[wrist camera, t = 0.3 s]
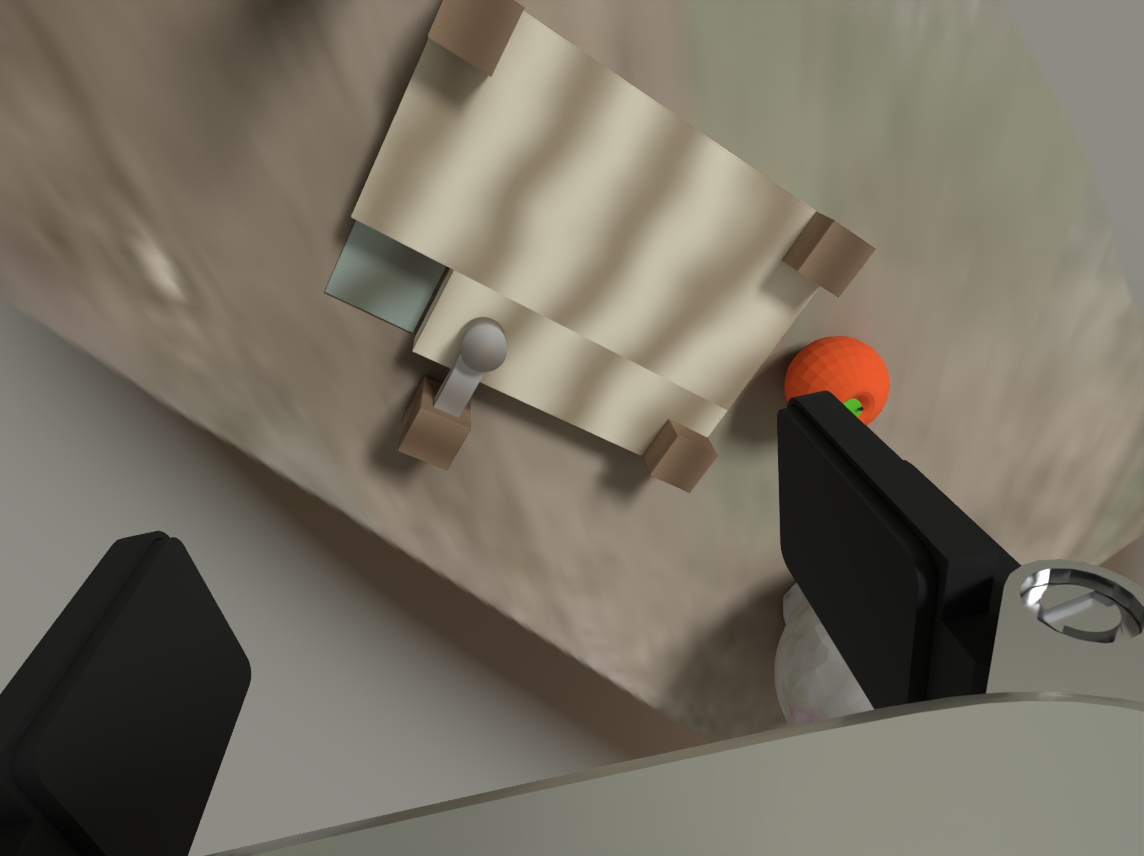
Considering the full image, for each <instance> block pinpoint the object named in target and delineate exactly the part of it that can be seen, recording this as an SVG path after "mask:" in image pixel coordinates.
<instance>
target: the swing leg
mask: <svg viewBox="0 0 1144 856" xmlns="http://www.w3.org/2000/svg"><path fill="white" fill-rule="evenodd" d="M506 355H507V347H506V339H505V333H504V330H503V328H502V326H501V325H500V324H499V323H498V322H497V321H495V320H493V319H491V318H488V317H478V318H475V319H472V320H471V321H469V322H468V323H467V324H466V325H465V326H464V328H463V330H462V333H461V351H460V352H459V354H458V356H457V358H456V360H455V362H454V363H453V365H452V367H451V369H450V371H449V373H448V374H447V376H446V378H445V380H444V382H443V384H442V383H440V382H438V381H435V380H433V379H431V378H429V377H426V376H424V378H423V380H422V382H421V383H420V385H419V387H418V389H417V391H416V393H415V395H414V397H413V399H412V400H411V402H410V404H409V406H408V408H407V410H406V412H405V414H404V416H403V421H402V427H401V433H400V439H399V446H398V451H399V452H402V453H404V454H407V455H409V456H412V457H414V458H417V459H419V460H422V461H424V462H427V463H429V464H432V465H434V466H437V467H439V468H442V469H444V470H448V468H449V466H450V465H451V463H452V461H453V460H454V458H455V456H456V454H457V453H458V451H459V449H460V448H461V446H462V444H463V442H464V441H465V439H466V437H467V435H468V434H469V432H470V430H471V396H472V394H473V392H474V391H475V389H476V387H477V385H478V384H479V382H480V380H481V378H482V377H483V375H484V373H485V372H490V371H493V370H495V369H497V368H499V367H500V366H501V365H502V364H503V362H504V361H505V359H506Z"/></svg>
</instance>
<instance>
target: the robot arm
mask: <svg viewBox="0 0 1144 856" xmlns="http://www.w3.org/2000/svg"><path fill="white" fill-rule="evenodd" d="M777 434H778V471H779V507H780V543H781V550H782V555H783V558H784V561H785V564H786V566H787V568H788V569H789V571H790V573H791V574H792V576H793V577H794V579H795V581H796V582H797V584H798V586H799V587H800V589H801V591H802V592H803V594H804V595H805V597H806V599H807V600H808V602H809V604H810V605H811V607H812V609H813V610H814V612H815V613H816V615H817V617H818V618H819V620H820V622H821V623H822V625H823V627H824V628H825V630H826V631H827V633H828V635H829V636H830V638H831V640H832V641H833V643H834V645H835V646H836V648H837V649H838V651H839V653H840V654H841V656H842V658H843V659H844V661H845V662H846V664H847V666H848V667H849V669H850V671H851V672H852V674H853V676H854V677H855V679H856V680H857V682H858V684H859V685H860V687H861V689H862V690H863V692H864V694H865V695H866V697H867V698H868V700H869V702H870V703H871V705H872V707H873V708H874V710H870V711H865V712H860V713H855V714H850V715H845V716H840V717H835V718H830V719H825V720H820V721H815V722H810V723H805V724H799V725H794V726H789V727H784V728H779V729H774V730H769V731H764V732H760V733H755V734H750V735H746V736H741V737H737V738H732V739H727V740H723V741H718V742H714V743H709V744H704V745H700V746H695V747H691V748H686V749H681V750H677V751H672V752H668V753H663V754H658V755H654V756H649V757H645V758H640V759H635V760H631V761H626V762H622V763H617V764H613V765H608V766H603V767H598V768H595V769H589V770H585V771H580V772H575V773H571V774H566V775H562V776H557V777H553V778H549V779H544V780H540V781H536V782H531V783H526V784H521V785H517V786H512V787H508V788H503V789H499V790H494V791H490V792H485V793H481V794H476V795H472V796H468V797H463V798H458V799H454V800H449V801H445V802H440V803H437V804H432V805H427V806H422V807H418V808H414V809H409V810H405V811H400V812H396V813H392V814H387V815H382V816H378V817H374V818H369V819H364V820H360V821H355V822H351V823H346V824H342V825H338V826H333V827H329V828H324V829H320V830H316V831H311V832H307V833H303V834H298V835H294V836H289V837H285V838H281V839H276V840H272V841H267V842H263V843H259V844H254V845H250V846H246V847H241V848H237V849H232V850H228V851H224V852H220V853H215V854H211V855H206V856H1144V590H1143V589H1142V588H1141V587H1139V586H1138V585H1136V584H1135V583H1134V582H1132V581H1131V580H1129V579H1127V578H1125V577H1123V576H1121V575H1118V574H1116V573H1114V572H1112V571H1110V570H1108V569H1105V568H1101V567H1098V566H1094V565H1091V564H1087V563H1084V562H1077V561H1069V560H1061V559H1057V560H1039V561H1035V562H1032V563H1029V564H1025V565H1022V566H1021V565H1020V564H1019V563H1018V562H1017V561H1016V560H1015V559H1014V558H1012V557H1011V556H1010V555H1009V554H1008V553H1007V552H1006V551H1005V550H1004V549H1003V548H1002V547H1001V546H1000V545H998V544H997V543H996V542H995V541H994V540H993V539H992V538H991V537H990V536H989V535H988V534H987V533H986V532H985V531H983V530H982V529H981V528H980V527H979V526H978V525H977V524H976V523H975V522H974V521H973V520H972V519H971V518H969V517H968V516H967V515H966V514H965V513H964V512H963V511H962V510H961V509H960V508H959V507H958V506H957V505H955V504H954V503H953V502H952V501H951V500H950V499H949V498H948V497H947V496H946V495H945V494H944V493H943V492H941V491H940V490H939V489H938V488H937V487H936V486H935V485H934V484H933V483H932V482H931V481H930V480H929V479H928V478H926V477H925V476H924V475H923V474H922V473H921V472H920V471H919V470H918V469H917V468H916V467H915V466H913V465H912V464H911V463H909V462H908V461H906V460H902V459H901V458H900V457H899V456H898V455H897V454H896V453H895V452H894V451H893V450H892V449H891V448H889V447H888V446H887V445H886V444H885V443H884V442H883V441H882V440H881V439H880V438H879V437H878V436H877V435H876V434H875V433H874V432H872V431H871V430H870V429H869V428H868V427H867V426H866V425H865V424H864V423H863V422H862V421H861V420H860V419H859V418H858V417H857V416H855V415H854V414H853V413H852V412H851V411H850V410H849V409H848V408H847V407H846V406H845V405H844V404H843V403H842V402H841V401H840V400H838V399H837V398H836V397H835V396H834V395H833V394H832V393H831V392H829V391H828V390H827V391H820V392H815V393H811V394H806V395H801V396H796V397H792V398H790V399H789V401H788V404H787V408H784V409H780V410H779V411H778V414H777ZM250 681H251V667H250V663H249V660H248V658H247V656H246V655H245V653H244V651H243V649H242V647H241V646H240V644H239V642H238V640H237V639H236V637H235V635H234V633H233V631H232V630H231V628H230V626H229V624H228V623H227V621H226V619H225V617H224V615H223V614H222V612H221V610H220V608H219V607H218V605H217V603H216V602H215V600H214V598H213V596H212V594H211V592H210V591H209V589H208V587H207V585H206V584H205V582H204V580H203V578H202V577H201V575H200V573H199V571H198V569H197V568H196V566H195V564H194V562H193V561H192V559H191V557H190V555H189V554H188V552H187V550H186V548H185V546H184V545H183V543H182V542H181V541H180V540H179V539H177V538H174V537H172V538H170V537H169V536H168V535H167V534H165V533H164V532H161V531H155V532H151V533H145V534H140V535H136V536H131V537H126V538H122V539H119V540H117V541H116V542H115V543H114V544H113V545H112V546H111V547H110V549H109V550H108V551H107V553H106V554H105V555H104V557H103V558H102V559H101V561H100V562H99V563H98V565H97V566H96V567H95V569H94V570H93V571H92V573H91V574H90V575H89V577H88V578H87V579H86V581H85V582H84V583H83V585H82V586H81V587H80V589H79V590H78V592H77V593H76V594H75V595H74V597H73V598H72V599H71V601H70V602H69V603H68V605H67V606H66V607H65V609H64V610H63V611H62V613H61V614H60V615H59V617H58V618H57V619H56V621H55V622H54V623H53V625H52V626H51V628H50V629H49V630H48V631H47V633H46V634H45V635H44V637H43V638H42V639H41V641H40V642H39V644H38V645H37V646H36V647H35V649H34V650H33V651H32V653H31V654H30V655H29V657H28V658H27V659H26V661H25V662H24V663H23V665H22V666H21V667H20V669H19V670H18V671H17V673H16V674H15V675H14V677H13V678H12V679H11V681H10V682H9V683H8V685H7V686H6V688H5V689H4V690H3V691H2V693H1V694H0V856H188V854H189V851H190V848H191V845H192V843H193V840H194V837H195V834H196V832H197V829H198V826H199V823H200V820H201V818H202V815H203V812H204V809H205V807H206V804H207V801H208V798H209V796H210V793H211V790H212V787H213V785H214V782H215V779H216V776H217V774H218V771H219V768H220V765H221V763H222V760H223V757H224V754H225V751H226V749H227V746H228V743H229V740H230V737H231V735H232V732H233V729H234V726H235V724H236V721H237V718H238V716H239V713H240V710H241V707H242V704H243V702H244V699H245V696H246V693H247V691H248V688H249V685H250Z"/></svg>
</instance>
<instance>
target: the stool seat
mask: <svg viewBox="0 0 1144 856" xmlns="http://www.w3.org/2000/svg"><path fill="white" fill-rule="evenodd" d="M523 10H524V7H523V6H522V5H520V4H519V3H517V2H516V1H514V0H443V1H442V4H441V6H440V8H439V10H438V13H437V15H436V17H435V20H434V22H433V24H432V27H431V29H430V31H429V34H428V36H427V37H429V39H428V41H427V43H426V46H425V48H424V50H423V53H422V55H421V57H420V60H419V62H418V64H417V66H416V69H415V71H414V73H413V76H412V78H411V80H410V82H409V85H408V87H407V89H406V92H405V94H404V96H403V99H402V101H401V103H400V105H399V108H398V110H397V112H396V115H395V117H394V119H393V121H392V124H391V126H390V128H389V131H388V133H387V135H386V138H385V140H384V142H383V144H382V147H381V149H380V151H379V154H378V156H377V158H376V161H375V163H374V165H373V167H372V170H371V172H370V174H369V177H368V179H367V181H366V183H365V186H364V188H363V190H362V193H361V195H360V197H359V200H358V202H357V204H356V206H355V209H354V211H353V213H352V216H351V217H352V218H354V219H355V220H356V222H355V224H354V226H353V228H352V231H351V233H350V235H349V238H348V240H347V242H346V244H345V247H344V249H343V251H342V253H341V256H340V258H339V260H338V263H337V265H336V267H335V269H334V272H333V274H332V276H331V279H330V281H329V283H328V285H327V288H326V290H325V292H326V293H328V294H330V295H333V296H335V297H337V298H339V299H341V300H343V301H345V302H347V303H350V304H352V305H354V306H356V307H358V308H360V309H362V310H365V311H367V312H369V313H371V314H373V315H375V316H377V317H380V318H382V319H384V320H386V321H388V322H390V323H392V324H395V325H397V326H399V327H401V328H403V329H405V330H407V331H410V332H412V333H413V331H414V329H415V327H416V325H417V323H418V321H419V319H420V317H421V315H422V313H423V311H424V310H425V308H426V306H427V304H428V302H429V300H430V298H431V296H432V294H433V292H434V290H435V288H436V286H437V284H438V282H439V280H440V278H441V276H442V274H443V272H444V270H445V268H446V266H447V267H449V268H450V269H449V271H448V273H447V275H446V277H445V279H444V280H443V282H442V284H441V286H440V288H439V290H438V292H437V294H436V296H435V298H434V300H433V302H432V304H431V306H430V308H429V310H428V312H427V314H426V316H425V318H424V320H423V322H422V324H421V326H420V328H419V330H418V331H417V333H416V335H415V339H414V345H413V352H415V353H417V354H420V355H422V356H424V357H426V358H428V359H431V360H433V361H435V362H437V363H439V364H442V365H444V366H446V367H448V368H450V369H451V367H452V365H453V363H454V362H455V360H456V358H457V356H458V354H459V352H460V351H461V333H462V330H463V328H464V326H465V325H466V324H467V323H468V322H469V321H471V320H472V319H475V318H478V317H488V318H491V319H493V320H495V321H497V322H498V323H499V324H500V325H501V326H502V328H503V330H504V333H505V339H506V347H507V355H506V359H505V361H504V362H503V364H502V365H501V366H500V367H499V368H497V369H495V370H493V371H490V372H485V373H484V375H483V377H482V378H481V380H480V382H481V383H483V384H485V385H487V386H490V387H492V388H494V389H496V390H498V391H501V392H503V393H505V394H507V395H509V396H511V397H514V398H516V399H518V400H520V401H522V402H525V403H527V404H529V405H531V406H533V407H536V408H538V409H540V410H542V411H544V412H546V413H549V414H551V415H553V416H555V417H557V418H560V419H562V420H564V421H566V422H568V423H570V424H573V425H575V426H577V427H579V428H581V429H584V430H586V431H588V432H590V433H592V434H595V435H597V436H599V437H601V438H603V439H605V440H608V441H610V442H612V443H614V444H616V445H619V446H621V447H623V448H625V449H627V450H630V451H632V452H634V453H636V454H638V455H640V456H642V457H643V459H644V462H645V464H646V467H647V469H648V471H649V474H650V475H651V476H653V477H655V478H658V479H660V480H662V481H664V482H667V483H669V484H671V485H673V486H676V487H678V488H680V489H682V490H684V491H687V492H689V493H690V492H691V490H692V489H693V488H694V486H695V485H696V484H697V483H698V481H699V480H700V479H701V477H702V476H703V475H704V473H705V472H706V471H707V469H708V468H709V467H710V465H711V464H712V463H713V462H714V460H715V459H716V458H717V456H718V454H717V453H716V451H715V449H714V448H713V446H712V444H711V443H710V441H709V439H708V438H707V437H708V436H709V435H710V433H711V432H712V431H713V429H714V428H715V427H716V425H717V424H718V423H719V421H720V420H721V419H722V417H723V416H724V415H725V413H726V412H727V411H728V409H729V408H730V407H731V405H732V404H733V403H734V401H735V400H736V398H737V397H738V396H739V394H740V393H741V392H742V390H743V389H744V388H745V386H746V385H747V384H748V382H749V381H750V380H751V378H752V377H753V376H754V374H755V373H756V372H757V370H758V369H759V368H760V366H761V365H762V364H763V362H764V361H765V360H766V358H767V357H768V356H769V354H770V353H771V352H772V350H773V349H774V348H775V346H776V345H777V344H778V342H779V341H780V340H781V338H782V337H783V335H784V334H785V333H786V331H787V330H788V329H789V327H790V326H791V325H792V323H793V322H794V321H795V319H796V318H797V317H798V315H799V314H800V313H801V311H802V310H803V309H804V307H805V306H806V305H807V303H808V302H809V301H810V299H811V298H812V297H813V295H814V294H815V293H816V291H817V290H818V289H819V287H820V286H821V287H823V288H824V289H826V290H828V291H829V292H831V293H832V294H834V295H836V296H837V297H839V296H840V295H841V294H842V292H843V291H844V290H845V289H846V287H847V286H848V285H849V283H850V282H851V281H852V279H853V278H854V277H855V275H856V274H857V273H858V271H859V270H860V269H861V268H862V266H863V265H864V264H865V262H866V261H867V260H868V258H869V257H870V256H871V254H872V253H873V252H874V251H875V248H874V247H872V246H871V245H869V244H868V243H867V242H865V241H864V240H862V239H861V238H859V237H858V236H856V235H855V234H853V233H852V232H850V231H849V230H848V229H846V228H845V227H843V226H842V225H840V224H839V223H837V222H836V221H834V220H832V219H830V218H828V217H826V216H824V215H823V214H821V213H819V212H817V211H815V210H814V209H812V208H811V207H809V206H808V205H806V204H805V203H803V202H802V201H800V200H799V199H797V198H796V197H795V196H793V195H792V194H790V193H789V192H787V191H786V190H784V189H783V188H781V187H780V186H778V185H777V184H776V183H774V182H773V181H771V180H770V179H768V178H767V177H765V176H764V175H762V174H761V173H760V172H758V171H757V170H755V169H754V168H752V167H751V166H749V165H748V164H746V163H745V162H743V161H742V160H741V159H739V158H738V157H736V156H735V155H733V154H732V153H730V152H729V151H727V150H726V149H724V148H723V147H722V146H720V145H719V144H717V143H716V142H714V141H713V140H711V139H710V138H708V137H707V136H705V135H704V134H703V133H701V132H700V131H698V130H697V129H695V128H694V127H692V126H691V125H689V124H688V123H686V122H685V121H684V120H682V119H681V118H679V117H678V116H676V115H675V114H673V113H672V112H670V111H669V110H667V109H666V108H665V107H663V106H662V105H660V104H659V103H657V102H656V101H654V100H653V99H651V98H650V97H648V96H647V95H646V94H644V93H643V92H641V91H640V90H638V89H637V88H635V87H634V86H632V85H631V84H630V83H628V82H627V81H625V80H624V79H622V78H621V77H619V76H618V75H616V74H615V73H613V72H612V71H611V70H609V69H608V68H606V67H605V66H603V65H602V64H600V63H599V62H597V61H596V60H594V59H593V58H592V57H590V56H589V55H587V54H586V53H584V52H583V51H581V50H580V49H578V48H577V47H575V46H574V45H573V44H571V43H570V42H568V41H567V40H565V39H564V38H562V37H561V36H559V35H558V34H556V33H555V32H554V31H552V30H551V29H549V28H548V27H546V26H545V25H543V24H542V23H540V22H539V21H537V20H536V19H535V18H533V17H532V16H530V15H529V14H527V13H526V12H524V11H523Z"/></svg>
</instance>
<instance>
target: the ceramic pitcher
mask: <svg viewBox="0 0 1144 856" xmlns="http://www.w3.org/2000/svg"><path fill="white" fill-rule="evenodd" d="M783 616H784V621H785V624H786V626H785V628H784V631H783V633H782V636H781V638H780V641H779V644H778V647H777V651H776V656H775V668H774V673H775V689H776V694H777V697H778V700H779V704H780V707H781V710H782V712H783V714H784V716H785V718H786V721H787V723H788V725H789V726H794V725H799V724H805V723H810V722H815V721H820V720H825V719H830V718H835V717H840V716H845V715H850V714H855V713H860V712H865V711H870V710H874V708H873V707H872V705H871V703H870V702H869V700H868V698H867V697H866V695H865V694H864V692H863V690H862V689H861V687H860V685H859V684H858V682H857V680H856V679H855V677H854V676H853V674H852V672H851V671H850V669H849V667H848V666H847V664H846V662H845V661H844V659H843V658H842V656H841V654H840V653H839V651H838V649H837V648H836V646H835V645H834V643H833V641H832V640H831V638H830V636H829V635H828V633H827V631H826V630H825V628H824V627H823V625H822V623H821V622H820V620H819V618H818V617H817V615H816V613H815V612H814V610H813V609H812V607H811V605H810V604H809V602H808V600H807V599H806V597H805V595H804V594H803V592H802V591H801V589H800V587H799V586H798V584H797V582H796V583H795V584H794V585H793V586H792V587H791V589H790V590H789V591H788V592H787V593H786V594H785V595H784V596H783Z"/></svg>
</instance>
